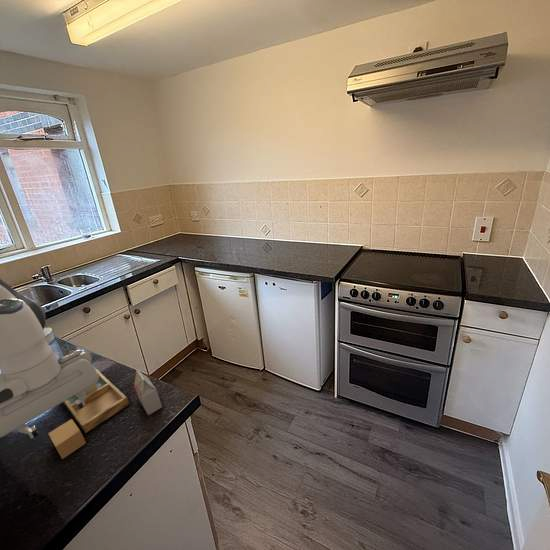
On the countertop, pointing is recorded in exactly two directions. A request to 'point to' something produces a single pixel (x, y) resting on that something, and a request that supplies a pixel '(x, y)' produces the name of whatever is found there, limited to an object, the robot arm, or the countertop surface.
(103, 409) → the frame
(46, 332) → the ramekin
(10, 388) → the robot arm
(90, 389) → the beige rectangular block
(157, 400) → the white and red box
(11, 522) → the countertop surface
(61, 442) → the light brown block
